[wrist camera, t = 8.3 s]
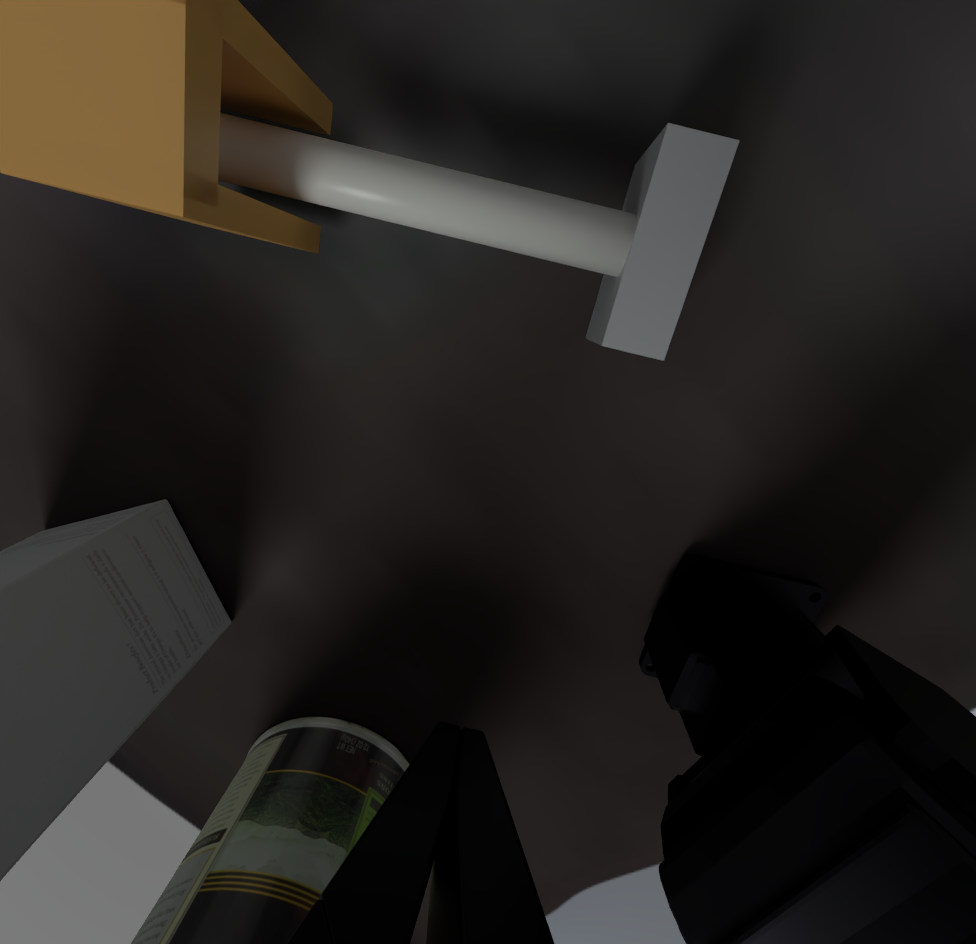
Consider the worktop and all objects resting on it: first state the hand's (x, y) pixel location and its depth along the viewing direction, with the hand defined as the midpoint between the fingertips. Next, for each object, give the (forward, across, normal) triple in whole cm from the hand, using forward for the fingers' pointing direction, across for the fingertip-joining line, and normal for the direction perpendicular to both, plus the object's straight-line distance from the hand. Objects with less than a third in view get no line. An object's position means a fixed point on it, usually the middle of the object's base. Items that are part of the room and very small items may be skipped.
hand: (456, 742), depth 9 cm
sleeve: (+12, +10, -10) cm, 19 cm away
